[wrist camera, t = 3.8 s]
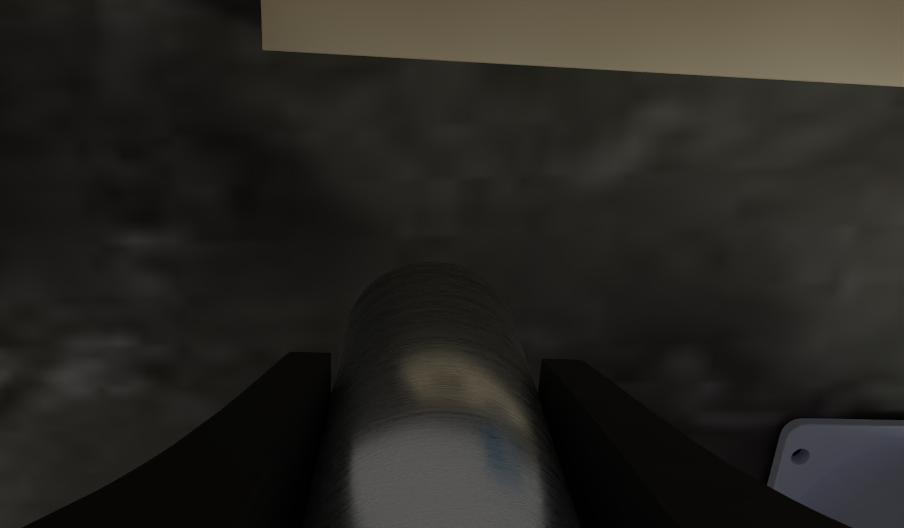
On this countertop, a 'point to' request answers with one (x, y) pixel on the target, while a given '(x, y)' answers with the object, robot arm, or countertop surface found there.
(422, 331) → the pin
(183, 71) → the countertop surface
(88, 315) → the countertop surface
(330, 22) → the bore block
